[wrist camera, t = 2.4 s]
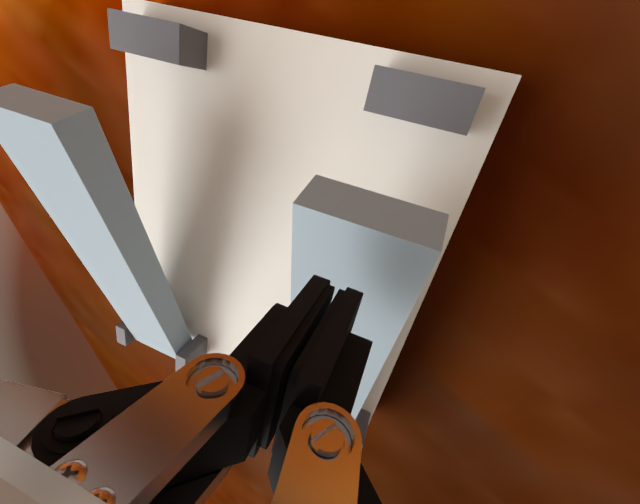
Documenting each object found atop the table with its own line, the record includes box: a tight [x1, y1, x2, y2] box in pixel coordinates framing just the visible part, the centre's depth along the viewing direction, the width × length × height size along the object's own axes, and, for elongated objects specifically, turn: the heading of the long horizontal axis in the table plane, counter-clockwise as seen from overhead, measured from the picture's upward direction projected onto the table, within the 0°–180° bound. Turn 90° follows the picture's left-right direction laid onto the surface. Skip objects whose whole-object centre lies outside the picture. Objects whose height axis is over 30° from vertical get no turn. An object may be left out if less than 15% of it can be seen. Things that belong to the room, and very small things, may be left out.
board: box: [107, 0, 522, 446], centre depth 24 cm, size 28×24×6 cm
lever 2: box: [291, 174, 449, 420], centre depth 19 cm, size 22×5×2 cm, turn 169°
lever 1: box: [0, 83, 192, 359], centre depth 22 cm, size 22×5×2 cm, turn 169°
